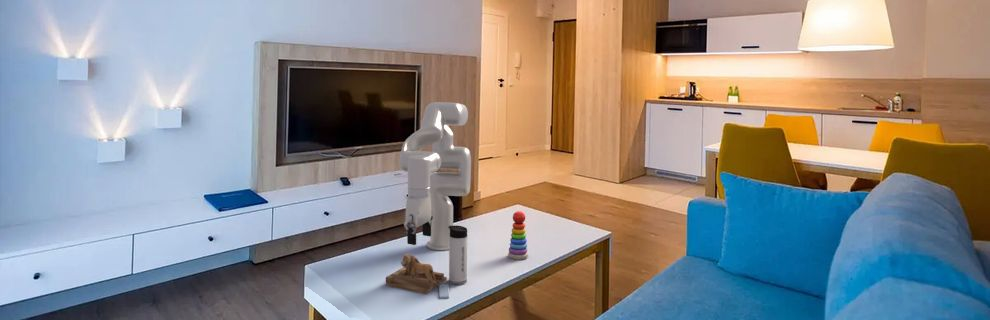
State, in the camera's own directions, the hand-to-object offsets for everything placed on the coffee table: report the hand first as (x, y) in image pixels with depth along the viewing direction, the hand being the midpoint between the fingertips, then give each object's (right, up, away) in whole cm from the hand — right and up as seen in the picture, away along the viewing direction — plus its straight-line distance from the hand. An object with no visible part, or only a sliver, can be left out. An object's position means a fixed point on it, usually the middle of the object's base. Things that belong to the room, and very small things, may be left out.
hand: (419, 239), depth 184 cm
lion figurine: (0, -15, +1) cm, 15 cm away
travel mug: (+13, -15, +4) cm, 20 cm away
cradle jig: (-1, -15, +2) cm, 15 cm away
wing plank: (+9, -17, -5) cm, 20 cm away
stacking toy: (+35, -12, +31) cm, 48 cm away
